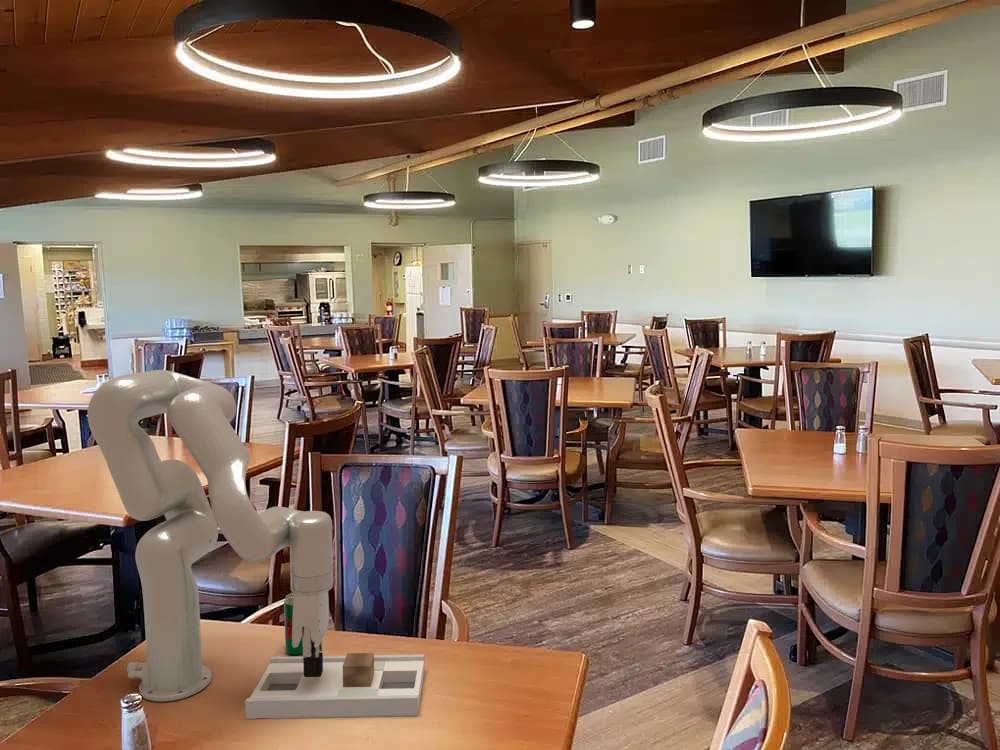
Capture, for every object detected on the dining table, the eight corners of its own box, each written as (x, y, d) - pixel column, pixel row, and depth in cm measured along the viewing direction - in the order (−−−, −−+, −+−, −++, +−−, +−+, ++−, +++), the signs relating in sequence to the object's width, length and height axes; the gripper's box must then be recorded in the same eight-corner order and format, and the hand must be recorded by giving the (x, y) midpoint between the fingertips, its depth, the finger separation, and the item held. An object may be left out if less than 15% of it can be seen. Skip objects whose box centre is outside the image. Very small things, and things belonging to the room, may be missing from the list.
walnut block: (343, 687, 135) (342, 666, 135) (347, 673, 140) (347, 653, 140) (370, 686, 135) (370, 665, 135) (374, 672, 140) (373, 652, 140)
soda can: (303, 657, 152) (302, 601, 150) (281, 655, 153) (279, 599, 151) (314, 646, 157) (313, 591, 155) (292, 644, 158) (291, 590, 156)
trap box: (246, 718, 130) (245, 701, 129) (271, 672, 146) (271, 656, 145) (417, 715, 130) (417, 698, 130) (424, 670, 146) (424, 654, 146)
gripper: (300, 564, 143) (302, 655, 145) (280, 596, 128) (282, 696, 130) (340, 565, 143) (341, 655, 145) (323, 596, 128) (325, 696, 130)
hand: (313, 674), depth 138 cm, fingers closed
